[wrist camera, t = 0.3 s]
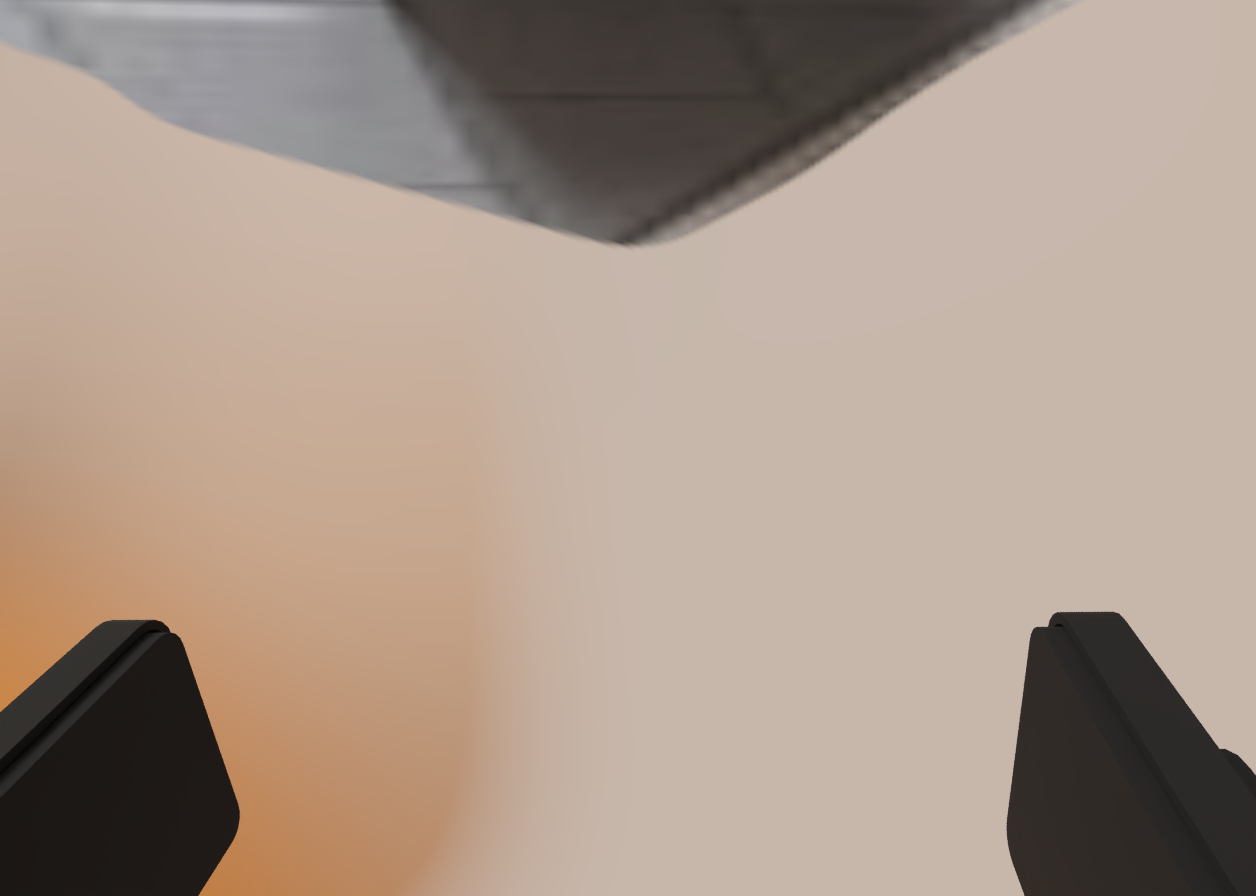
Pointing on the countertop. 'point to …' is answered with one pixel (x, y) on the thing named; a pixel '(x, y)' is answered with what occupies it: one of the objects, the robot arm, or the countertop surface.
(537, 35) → the countertop surface
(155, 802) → the robot arm
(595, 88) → the countertop surface
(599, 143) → the countertop surface
